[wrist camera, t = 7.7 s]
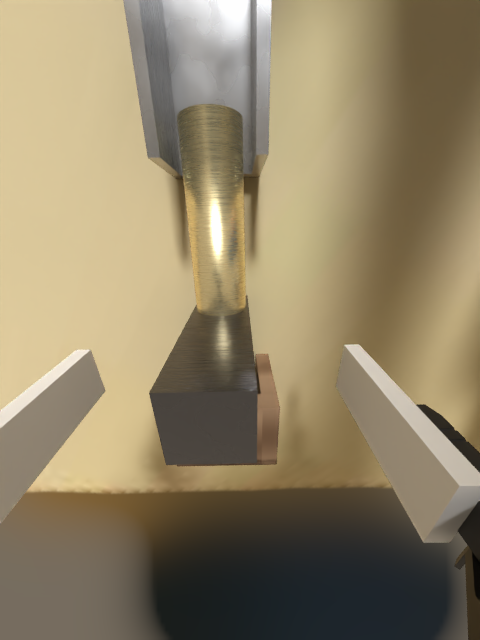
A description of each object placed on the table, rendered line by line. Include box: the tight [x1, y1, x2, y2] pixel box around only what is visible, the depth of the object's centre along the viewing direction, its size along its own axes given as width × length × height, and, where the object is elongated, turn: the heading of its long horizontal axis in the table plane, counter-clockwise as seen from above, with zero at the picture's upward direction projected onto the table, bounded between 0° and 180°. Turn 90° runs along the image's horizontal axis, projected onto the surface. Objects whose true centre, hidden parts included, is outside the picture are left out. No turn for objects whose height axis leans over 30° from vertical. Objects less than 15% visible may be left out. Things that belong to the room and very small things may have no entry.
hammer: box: [149, 104, 258, 465], centre depth 14 cm, size 22×4×12 cm, turn 1°
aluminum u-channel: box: [124, 0, 272, 179], centre depth 12 cm, size 10×6×6 cm, turn 1°
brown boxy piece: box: [177, 354, 280, 466], centre depth 20 cm, size 6×8×7 cm
